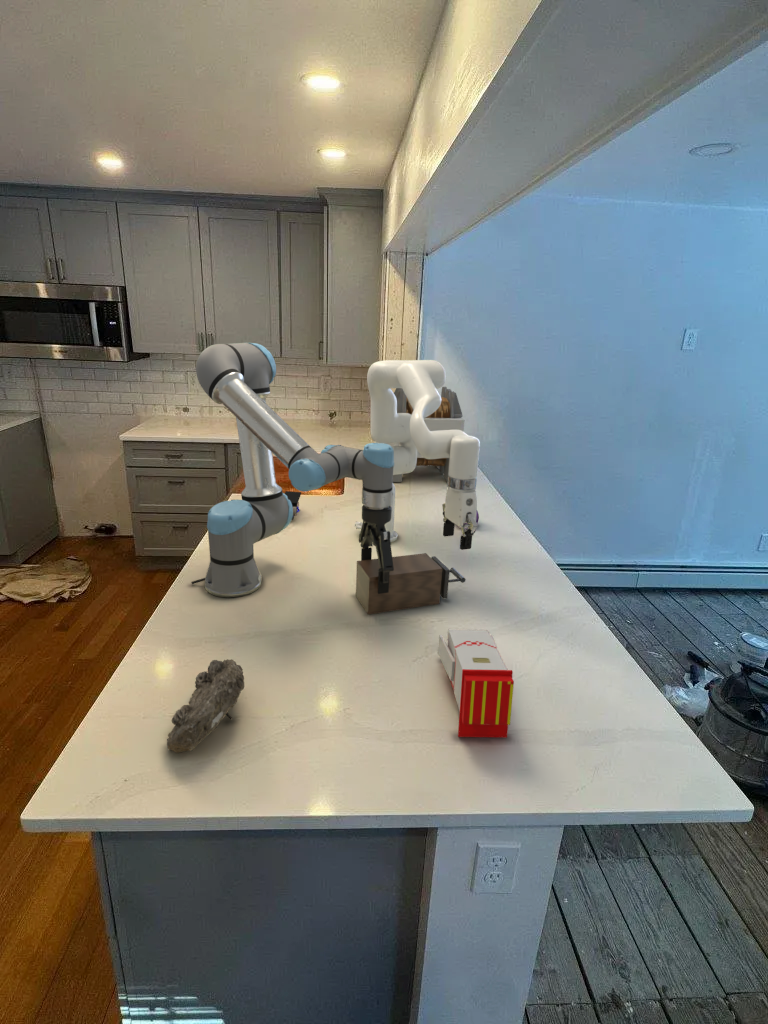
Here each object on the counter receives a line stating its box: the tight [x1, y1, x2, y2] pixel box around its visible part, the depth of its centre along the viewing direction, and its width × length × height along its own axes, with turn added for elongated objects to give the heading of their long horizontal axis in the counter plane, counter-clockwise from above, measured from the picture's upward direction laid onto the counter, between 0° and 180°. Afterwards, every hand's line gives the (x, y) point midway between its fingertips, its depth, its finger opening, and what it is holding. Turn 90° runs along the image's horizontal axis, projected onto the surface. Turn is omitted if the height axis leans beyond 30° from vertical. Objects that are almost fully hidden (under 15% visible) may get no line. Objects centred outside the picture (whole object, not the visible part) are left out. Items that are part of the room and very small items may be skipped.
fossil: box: [166, 658, 245, 754], centre depth 106 cm, size 22×10×15 cm
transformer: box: [384, 386, 465, 483], centre depth 268 cm, size 34×33×41 cm
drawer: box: [430, 555, 466, 599], centre depth 155 cm, size 25×9×9 cm, turn 110°
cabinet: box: [355, 552, 442, 615], centre depth 153 cm, size 20×10×10 cm, turn 110°
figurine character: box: [284, 490, 302, 521], centre depth 211 cm, size 7×8×15 cm
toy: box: [437, 628, 515, 738], centre depth 117 cm, size 12×13×30 cm
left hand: (374, 581), depth 150 cm, fingers open, 13 cm apart
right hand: (456, 542), depth 156 cm, fingers open, 9 cm apart
